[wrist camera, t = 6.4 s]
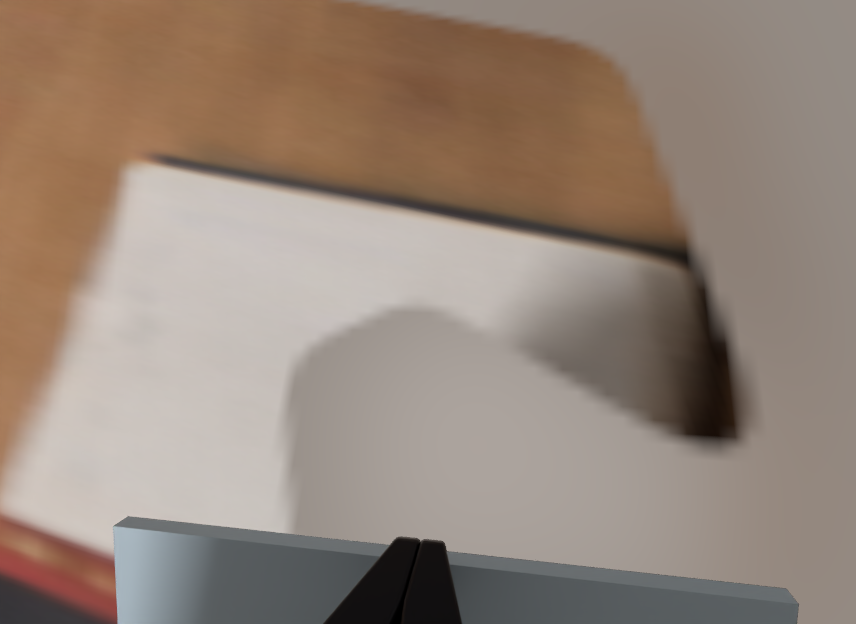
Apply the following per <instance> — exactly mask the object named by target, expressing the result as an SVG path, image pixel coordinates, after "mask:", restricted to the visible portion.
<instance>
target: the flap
mask: <svg viewBox="0 0 856 624" xmlns="http://www.w3.org/2000/svg"><path fill="white" fill-rule="evenodd" d="M113 533H114V554H115V574H116V595H117V615H118V624H323V623H324V622H325V621H326V619H327V618H328V617H329V616H330V615H331V614H332V612H333V611H334V610H335V609H336V608H337V606H338V605H339V604H340V603H341V602H342V601H343V599H344V598H345V597H346V596H347V595H348V594H349V592H350V591H351V590H352V589H353V588H354V587H355V585H356V584H357V583H358V582H359V581H360V579H361V578H362V577H363V576H364V575H365V574H366V572H367V571H368V570H369V569H370V568H371V567H372V565H373V564H374V563H375V562H376V561H377V560H378V558H379V557H380V556H381V555H382V554H383V553H384V551H385V550H386V549H387V548H388V547H389V545H385V544H376V543H367V542H358V541H348V540H339V539H330V538H321V537H312V536H303V535H294V534H285V533H275V532H266V531H257V530H248V529H239V528H230V527H221V526H212V525H202V524H193V523H184V522H175V521H166V520H157V519H148V518H139V517H129V516H128V517H126V518H125V519H123V520H122V521H120V522H119V523H117V524H116V525H114V526H113ZM447 555H448V560H449V564H450V569H451V573H452V578H453V583H454V587H455V592H456V597H457V601H458V606H459V611H460V615H461V620H462V624H797V617H798V607H799V604H798V603H797V601H796V600H795V599H794V598H793V596H792V595H791V594H790V593H789V591H788V590H787V589H786V588H777V587H768V586H759V585H749V584H741V583H732V582H722V581H713V580H704V579H695V578H686V577H676V576H668V575H659V574H658V575H657V574H650V573H640V572H631V571H622V570H612V569H604V568H594V567H586V566H576V565H567V564H558V563H549V562H540V561H531V560H522V559H513V558H503V557H494V556H484V555H476V554H467V553H458V552H449V551H447Z"/></svg>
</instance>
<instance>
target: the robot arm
mask: <svg viewBox="0 0 856 624" xmlns="http://www.w3.org/2000/svg"><path fill="white" fill-rule="evenodd" d="M323 624H462V620H461V615H460V611H459V606H458V601H457V597H456V592H455V587H454V583H453V578H452V573H451V569H450V564H449V560H448V555H447V550H446V546H445V543H444V542H443V541H438V540H429V539H424V540H422V541H421V542H420V540H419V539H417V538H410V537H397V538H396V539H395V540H394V541H393V542H392V543H391V544H390V545H389V547H388V548H387V549H386V550H385V551H384V553H383V554H382V555H381V556H380V557H379V558H378V560H377V561H376V562H375V563H374V564H373V565H372V567H371V568H370V569H369V570H368V571H367V572H366V574H365V575H364V576H363V577H362V578H361V579H360V581H359V582H358V583H357V584H356V585H355V587H354V588H353V589H352V590H351V591H350V592H349V594H348V595H347V596H346V597H345V598H344V599H343V601H342V602H341V603H340V604H339V605H338V606H337V608H336V609H335V610H334V611H333V612H332V614H331V615H330V616H329V617H328V618H327V619H326V621H325V622H324V623H323Z"/></svg>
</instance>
